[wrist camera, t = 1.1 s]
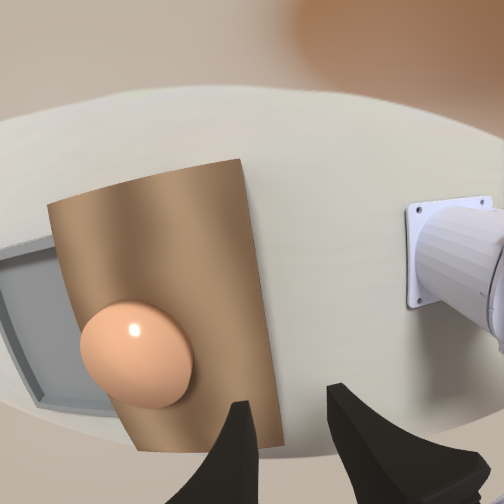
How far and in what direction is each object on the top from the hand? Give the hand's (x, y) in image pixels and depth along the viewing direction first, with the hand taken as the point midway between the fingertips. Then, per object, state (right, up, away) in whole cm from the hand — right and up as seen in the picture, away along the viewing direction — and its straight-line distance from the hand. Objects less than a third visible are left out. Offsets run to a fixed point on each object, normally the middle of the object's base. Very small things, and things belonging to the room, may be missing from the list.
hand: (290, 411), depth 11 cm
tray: (-19, -1, +10) cm, 21 cm away
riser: (-7, +1, +10) cm, 12 cm away
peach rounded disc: (-9, 0, +6) cm, 11 cm away
